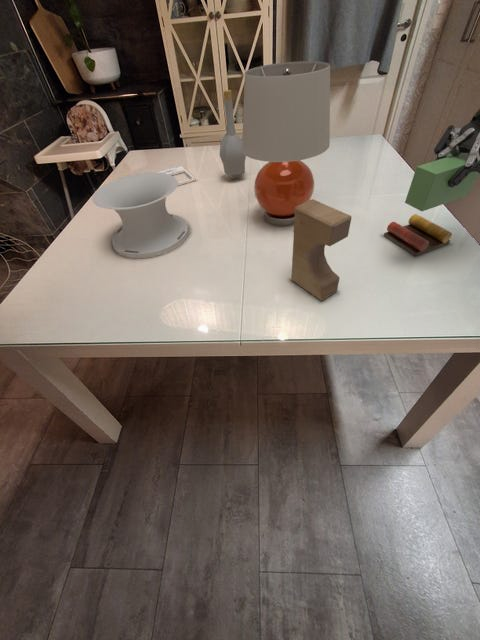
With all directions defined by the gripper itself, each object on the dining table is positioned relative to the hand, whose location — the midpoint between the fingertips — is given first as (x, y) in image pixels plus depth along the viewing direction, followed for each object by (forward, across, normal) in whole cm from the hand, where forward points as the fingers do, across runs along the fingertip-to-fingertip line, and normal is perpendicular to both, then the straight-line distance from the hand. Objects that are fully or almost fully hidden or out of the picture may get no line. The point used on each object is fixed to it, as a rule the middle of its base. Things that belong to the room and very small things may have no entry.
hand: (438, 180), depth 65 cm
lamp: (+27, -38, +3) cm, 46 cm away
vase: (+57, -50, -28) cm, 80 cm away
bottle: (+27, -77, +2) cm, 81 cm away
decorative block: (+34, -3, -5) cm, 35 cm away
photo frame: (+43, -94, -14) cm, 104 cm away
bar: (+2, 0, +5) cm, 5 cm away
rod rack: (+9, -6, +20) cm, 23 cm away
